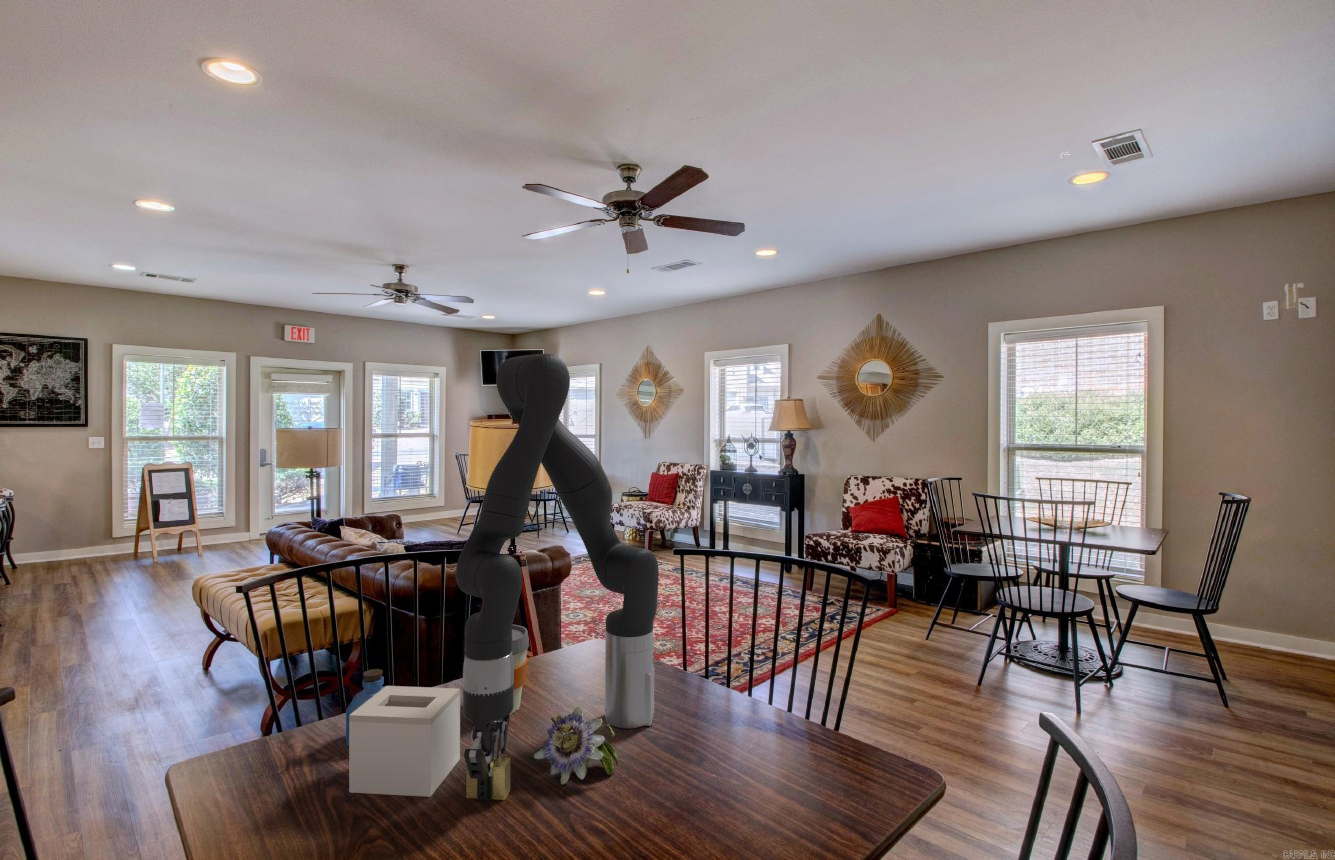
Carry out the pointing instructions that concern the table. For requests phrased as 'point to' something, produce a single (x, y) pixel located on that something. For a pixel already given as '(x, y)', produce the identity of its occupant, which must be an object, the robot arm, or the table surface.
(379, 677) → the perfume bottle
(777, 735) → the table surface
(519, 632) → the reusable coffee cup
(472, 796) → the tan wooden block
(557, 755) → the passion flower
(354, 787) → the tissue box
